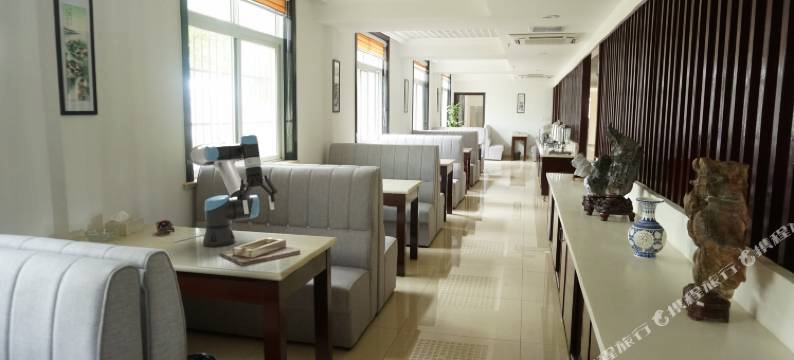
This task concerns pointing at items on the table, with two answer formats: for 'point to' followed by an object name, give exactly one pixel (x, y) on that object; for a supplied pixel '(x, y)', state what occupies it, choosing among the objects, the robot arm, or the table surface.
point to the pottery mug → (164, 226)
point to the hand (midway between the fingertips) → (259, 211)
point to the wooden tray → (258, 247)
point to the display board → (260, 256)
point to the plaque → (188, 238)
